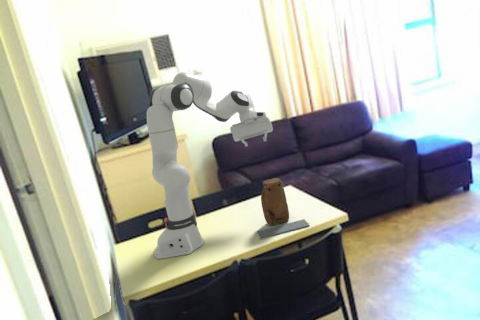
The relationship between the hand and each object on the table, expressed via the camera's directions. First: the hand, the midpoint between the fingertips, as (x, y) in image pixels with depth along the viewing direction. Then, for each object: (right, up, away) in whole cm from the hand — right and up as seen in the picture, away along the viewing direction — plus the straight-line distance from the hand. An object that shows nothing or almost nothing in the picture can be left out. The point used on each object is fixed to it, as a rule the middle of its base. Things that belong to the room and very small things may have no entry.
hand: (255, 143), depth 203 cm
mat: (+11, -39, -20) cm, 45 cm away
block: (+10, -37, -11) cm, 40 cm away
